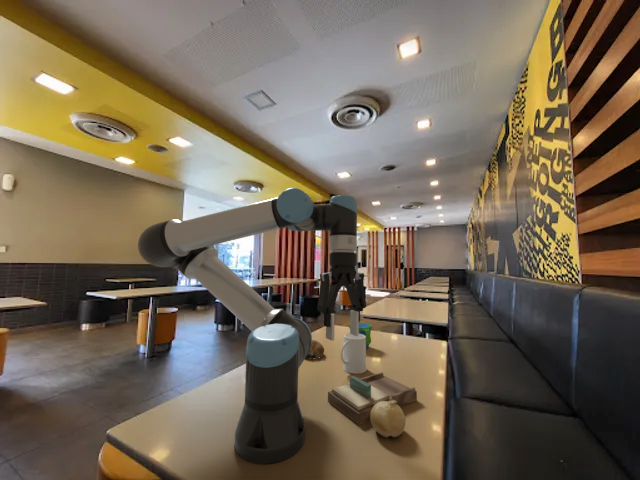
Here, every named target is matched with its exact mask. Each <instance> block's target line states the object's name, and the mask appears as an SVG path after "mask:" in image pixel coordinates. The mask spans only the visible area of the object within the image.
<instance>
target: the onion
mask: <svg viewBox="0 0 640 480" xmlns="http://www.w3.org/2000/svg"><path fill="white" fill-rule="evenodd" d="M391 399H392V396H391ZM396 403H397V401H396V400H393V399H392V400H391V401H389V402H388V401H381V402H378V403H376V404H375V405H374V406H373V408H372V410H371V413H370V419H371V420H370V423H371V425H372V428H373V429H374V430H375V432H377V434H378V435H380V436H382V437H384V438H385V439H389V437H392V438H397V437H400V435H401V434H403V432H404V431H405V428H406V427H405V426H406V416H405V413H404V411H403V410H402V407H399V406H398V405H397V404H396Z"/></svg>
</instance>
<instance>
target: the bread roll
mask: <svg viewBox="0 0 640 480" xmlns="http://www.w3.org/2000/svg"><path fill="white" fill-rule="evenodd" d="M324 353H325V348H324V346H323V344H322V343H321V342H319V341H318V340H315V339H312V344H311V348H310V351H309V354H308V355H307V356H306V358H305V359H307V358H310V359H309V360H314V359H313V358H317V359H320V358H319V357H321V358H322V357H323V356H324Z"/></svg>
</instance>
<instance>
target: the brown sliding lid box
mask: <svg viewBox="0 0 640 480" xmlns="http://www.w3.org/2000/svg"><path fill="white" fill-rule="evenodd" d="M360 379H361V380H363V381H364V382H366V383H368V384H370V385H371V386H373V387H375V388H377V389H379V390H380V391H382V392H384V393H386V394H388V395H389V399H387V400H384V401H388V402H389V401H391V400H392V399H393V400H396V401H397V403H396V404H397V405H398V406H399V407H400V408H402V407H405V406H407V405H409V404H411V403H414V402H416V401H418V395H417V394H418V393H417V392H418V391H417V390H416V387H414V386H413V387H409V386H406V385H404V384H402V383H401V382H398V381H397V380H393V379H392V378H390V377H388V376H385V375H384V372H378V373H375V374H371V375H369V376H365V377H362V378H360ZM391 396H392V399H391ZM327 402H329V403H330V404H331V405H332V406H334V407H335V408H336V409H338V410H339V411H340V412H341V413H342V414H344V415H345V416H347V417H348V418H349V419H351V420H352V421H353V422H355V423H356V424H357V425H359V426H360V425H362V424H364V423H366V422H368V421H371V419H370V413H371V410H372V408H373V406H374V405H375V404H373V405H371V406H368V407H366V408H363V409H360V410H357V409H356V408H354V407H353V406H352V405H350V404H349V403H347V402H346V401H344V400H343V399H342V398H340V397H339V396H337V395H336V394H334V393H333V392H332V390H329V391H327Z"/></svg>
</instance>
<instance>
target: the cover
mask: <svg viewBox="0 0 640 480" xmlns="http://www.w3.org/2000/svg"><path fill="white" fill-rule="evenodd" d="M331 391H332V392H333V393H334V394H336V395H337V396H339V397H340V398H342V399H343V400H344V401H346V402H347V403H349V404H350V405H352V406H353V407H354V408H356V409H357V410H360V409H363V408H366V407H368V406H371V405H373V404H376V403H378V402H381V401H384V400H387V399H389V395H388V394H386V393H384V392H382V391H380V390H379V389H377V388H375V387H373V386H371V385H370V384H368V383H366V382H364V381H363V380H361V378H359V377H357V376H355V375H351V376H350V377H349V383H348V384H347V383H346V384H345V385H340V386H337V387H334V388H332V390H331Z"/></svg>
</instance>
